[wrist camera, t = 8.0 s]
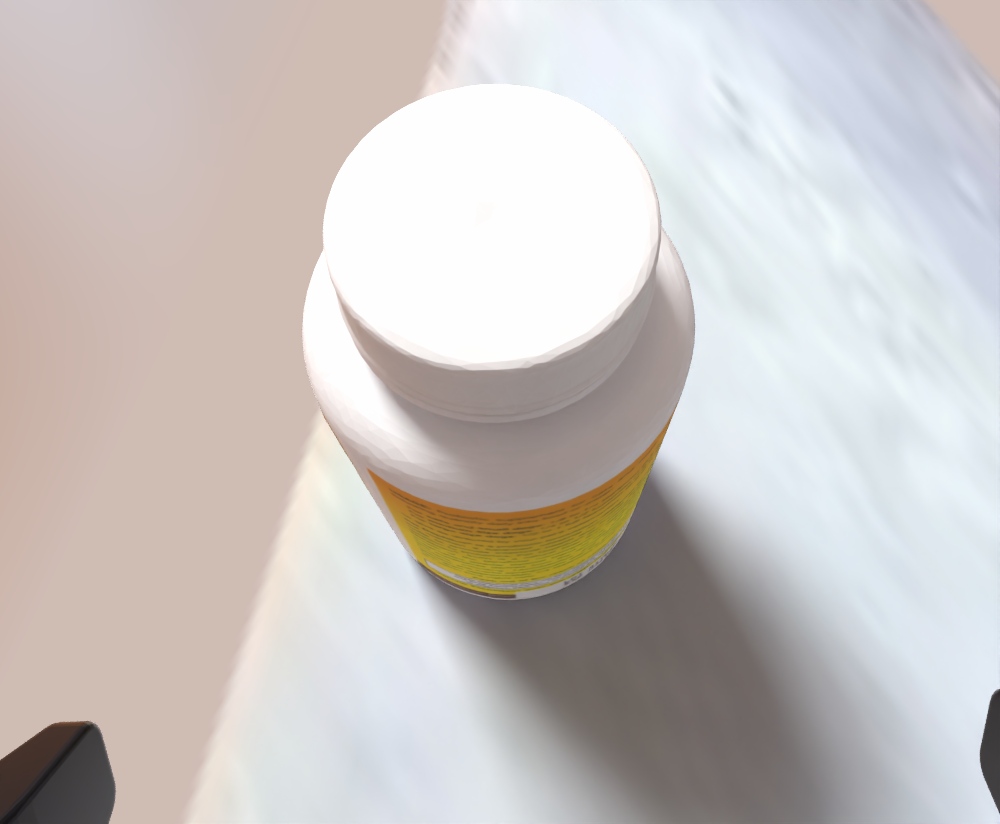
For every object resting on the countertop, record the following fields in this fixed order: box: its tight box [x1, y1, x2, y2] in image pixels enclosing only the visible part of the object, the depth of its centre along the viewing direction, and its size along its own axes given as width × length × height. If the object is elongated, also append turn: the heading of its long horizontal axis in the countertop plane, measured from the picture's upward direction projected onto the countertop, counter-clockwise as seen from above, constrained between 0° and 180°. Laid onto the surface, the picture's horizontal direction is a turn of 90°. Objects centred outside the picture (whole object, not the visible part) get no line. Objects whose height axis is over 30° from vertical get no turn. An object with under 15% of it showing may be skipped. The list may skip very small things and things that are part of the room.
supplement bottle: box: [303, 84, 695, 600], centre depth 15 cm, size 6×6×10 cm
